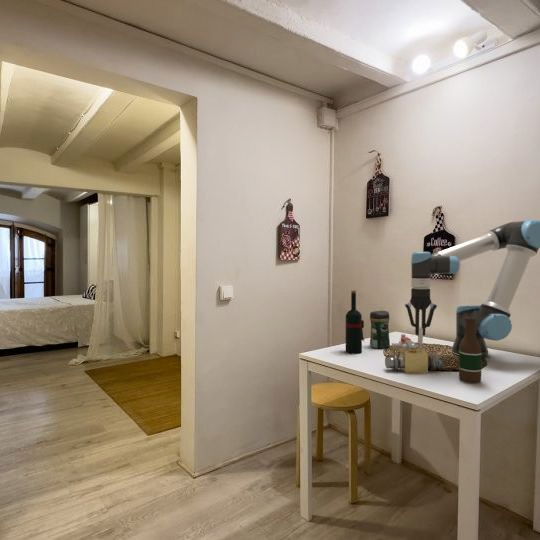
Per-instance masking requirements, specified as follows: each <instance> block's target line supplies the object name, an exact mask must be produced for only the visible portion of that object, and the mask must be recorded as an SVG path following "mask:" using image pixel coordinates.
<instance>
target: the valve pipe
mask: <svg viewBox="0 0 540 540" xmlns="http://www.w3.org/2000/svg"><path fill="white" fill-rule="evenodd" d="M384 365H385V368H386V369H392V370H393V371H394V372H397V371H399V369H400V370H401V371H403V373H404V374H428V373H429V370H430V371H432V372H435V371H436V370H437V369H442V368H443V367H444V361H443V358H442V357H441V356H435V354H429V353H428V352H427V351H426V350H424V349H422V348H419V349H410V348H408V349H401V348H399V356H398V355H397V354H391V357H390V356H387V357H386V356H385V358H384ZM429 368H430V369H429ZM428 369H429V370H428Z"/></svg>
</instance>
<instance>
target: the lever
mask: <svg viewBox="0 0 540 540" xmlns="http://www.w3.org/2000/svg"><path fill="white" fill-rule="evenodd" d="M400 341H401V342H402V343H405V344H406V345H408V349H420V344H419V343H418V342H414V341H412V339H411V338H409V336H405V337H401V336H400Z"/></svg>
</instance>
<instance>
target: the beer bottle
mask: <svg viewBox="0 0 540 540" xmlns="http://www.w3.org/2000/svg"><path fill="white" fill-rule="evenodd" d="M465 320H466V326H465V335H464V338H463V340H462V341H461V343H460V345H459V356H458V378H459V381H461V382H462V383H463V382H464V383H466V384H479V383H481V382H482V359H483V358H482V352H481V346H480V344H479V342H478V341H477V339H476V328H475V321H476V318H475V317H466V318H465Z"/></svg>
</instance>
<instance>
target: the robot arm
mask: <svg viewBox="0 0 540 540" xmlns="http://www.w3.org/2000/svg"><path fill="white" fill-rule="evenodd" d="M501 249H506V250H507V252H506V255H505V258H504V260H503V262H502V264H501V267H500V270H499V271H498V274H497V276H496V279H495V281H494V284H493V286H492V289H491V291H490V292H489V295H488V297H487V300H486V301H485V302H482V303H481V304H480V305H478V304H477V305H459V306H457V307H456V311H455V314H456V315H455V316H456V318H455V319H456V323H455V324H456V325H455V327H456V329H455V330H456V331H455V332H456V337H455V339H454V342H453V345H452V347H451V353H452V352H454V353H457V354H459V345H460V343H461V341H462V340H463V338H464V335H465V326H466V320H465V318H466V317H475V318H476V321H475V328H476V339H477V341H478V342H479V344H480V346H481V352H482V358H481V359H485V358H488V357H489V349H488V346H487V343H486V340H489V341H494V342H495V341H501V340H503V339H506V338H507V337H508V336H509V334H511V331H512V329H513V328H512V327H513V323H512V321H511V319H510V317H511V315H512V314H511V312H510V309H509V308H511V305H512V302H513V301H514V298H515V296H516V293H517V291H518V288H519V285H520V283H521V281H522V278H523V276H524V274H525V271H526V269H527V267H528V264H529V262H530V260H531V258H532V257H535V256H537V254H538V251H539V249H540V220H539V219H527V220H521V221H512V222H508V223H505V224H503V225H500V226H497V227H495V228H493V229H490V230H487V231H485V232H484V234H483V235H480V236H477V237H475V238H472V239H469V240H467V241H464V242H461V243H459V244H456V245H454V246H451V247H449V248H448V247H447V248H446V249H443V250H442V249H441V251H437V252H434V253H431V252H430V251H413V253H412V254H411V261H410V263H411V281H410V283H411V285H410V286H411V290H410V291H411V293H410V299H409V302H407V303H405V304H404V307H405V308H406V309H407V310H406V311H407V313H408V314H407V315H408V317H409V322H410V323H409V324H410V325H411V327H414V328H415V329H414V331H415V336H417V343H418V344H419V345H420V344H421V345H423V341H424V339H423V336H426V328H430V326H431V324H432V320H433V317H434V312H435V310H436V309H437V307H438V305H437V304H435V303H433V302H432V299H431V289H430V288H431V275H436V274H437V275H439V274H440V275H442V274H443V275H445V274H446V275H451V274H452V275H453V274H456V273H458V272H459V269H460V266H461V265H460V264H461V263H460V262H462V261H465V260H467V259H469V258H470V259H471V258H472V257H475V256H478V255H481V254H483V253H484V254H485V253H487V252H490V251H492V252H493V251H497V250H501ZM412 307H413V308H414V310H415V311H414V312H415V315H414V316H415V317H414V316H413V312H412V310H411V308H412ZM428 308H429V312H428V315H427V309H428ZM420 311H421V326H420ZM426 316H427V317H426ZM414 318H415V320H414ZM426 318H427V319H426ZM485 339H486V340H485Z"/></svg>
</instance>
